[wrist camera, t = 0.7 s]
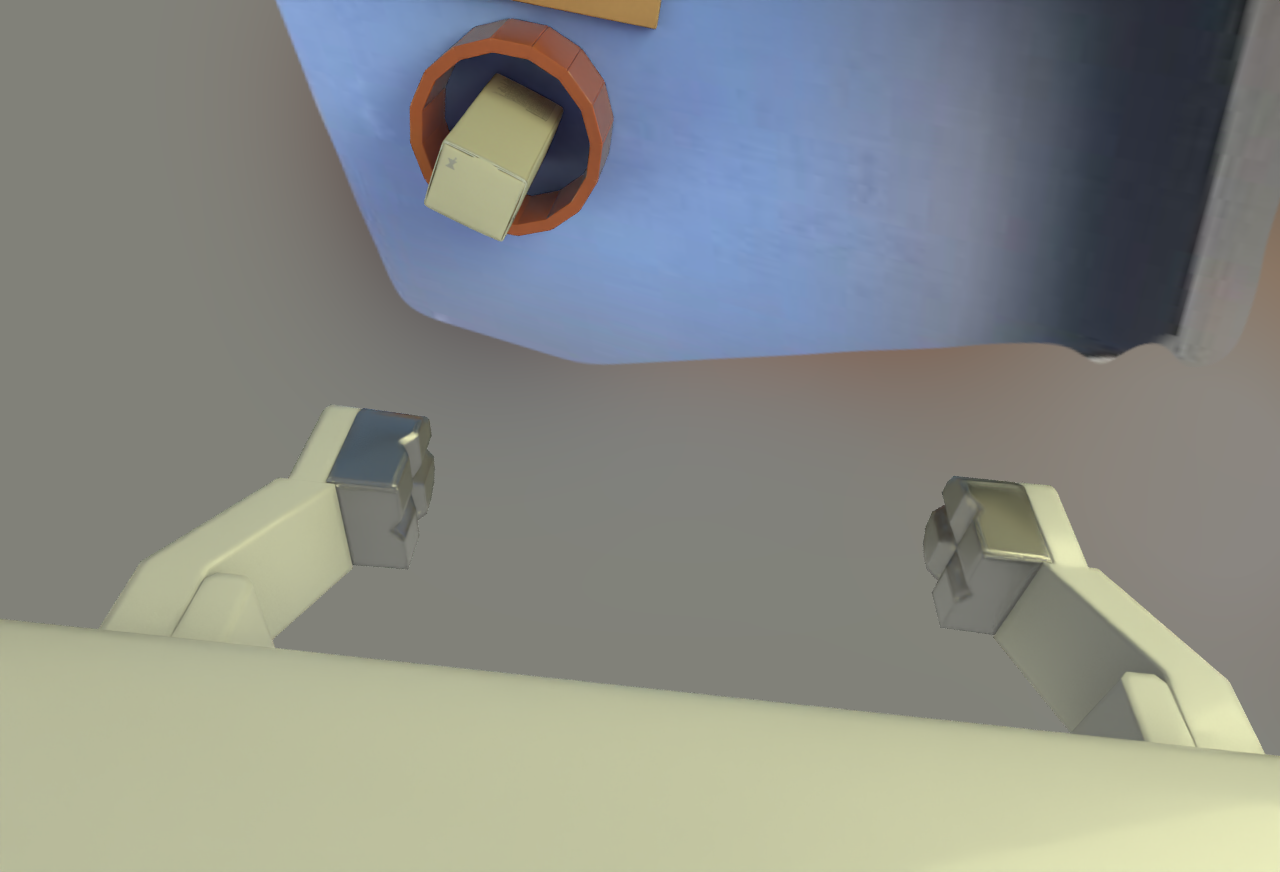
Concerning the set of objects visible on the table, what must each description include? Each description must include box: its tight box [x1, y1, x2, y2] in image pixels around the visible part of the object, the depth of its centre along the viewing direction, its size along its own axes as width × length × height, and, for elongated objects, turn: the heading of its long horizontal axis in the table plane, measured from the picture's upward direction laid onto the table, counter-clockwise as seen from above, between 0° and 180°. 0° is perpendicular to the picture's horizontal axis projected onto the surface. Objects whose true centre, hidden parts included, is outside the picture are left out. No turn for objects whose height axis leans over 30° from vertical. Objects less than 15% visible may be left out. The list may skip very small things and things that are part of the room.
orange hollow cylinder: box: [410, 18, 614, 236], centre depth 55 cm, size 12×12×5 cm
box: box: [424, 73, 564, 241], centre depth 52 cm, size 5×4×13 cm
